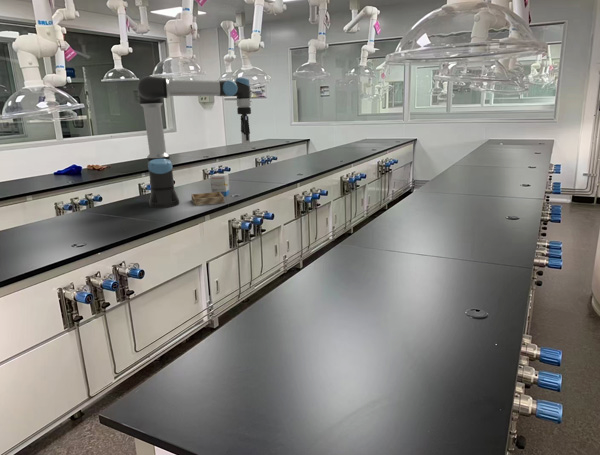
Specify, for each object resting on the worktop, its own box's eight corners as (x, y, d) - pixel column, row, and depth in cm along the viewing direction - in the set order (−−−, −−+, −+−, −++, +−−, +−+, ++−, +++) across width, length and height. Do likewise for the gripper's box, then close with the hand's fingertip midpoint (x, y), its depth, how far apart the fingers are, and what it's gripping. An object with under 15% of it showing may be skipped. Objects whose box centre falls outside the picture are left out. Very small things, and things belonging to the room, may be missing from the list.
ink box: (230, 193, 261) (228, 173, 258) (226, 196, 253) (224, 175, 250) (215, 193, 262) (214, 173, 259) (211, 196, 254) (209, 175, 251)
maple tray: (194, 205, 233) (194, 199, 232) (191, 200, 245) (191, 194, 244) (224, 202, 237) (224, 196, 237) (220, 197, 250) (219, 191, 249)
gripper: (253, 107, 239) (255, 147, 245) (247, 106, 262) (249, 143, 268) (239, 107, 237) (242, 147, 243) (234, 106, 260) (236, 143, 266)
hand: (245, 145), depth 256 cm, fingers open, 13 cm apart
